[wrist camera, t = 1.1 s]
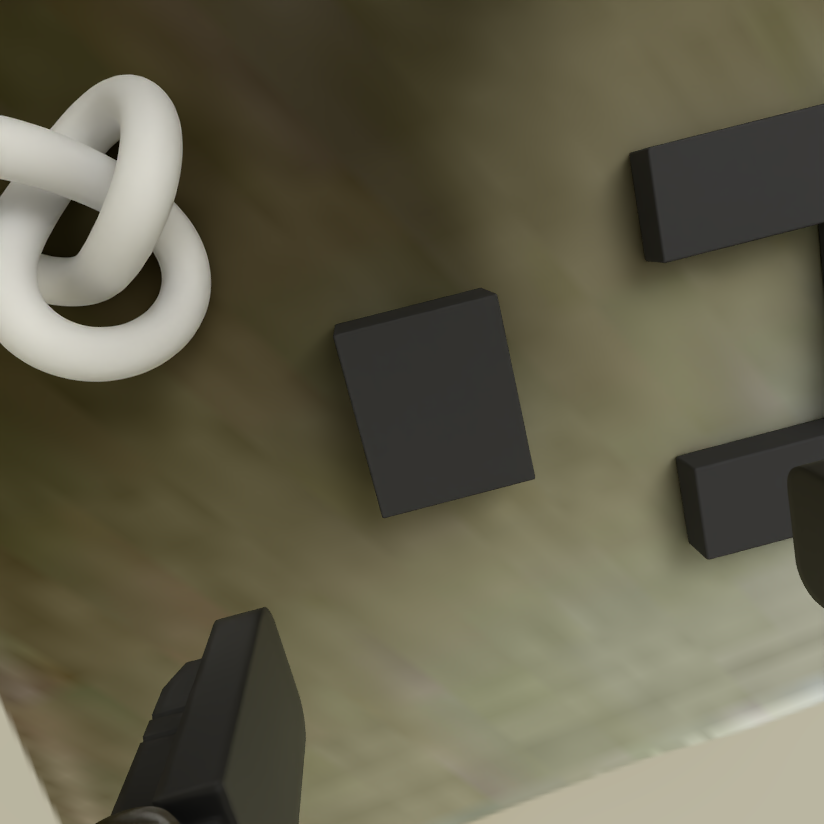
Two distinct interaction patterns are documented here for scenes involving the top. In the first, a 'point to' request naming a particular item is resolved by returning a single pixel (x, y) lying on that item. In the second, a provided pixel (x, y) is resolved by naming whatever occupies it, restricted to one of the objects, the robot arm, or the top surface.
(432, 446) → the pad
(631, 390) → the top surface
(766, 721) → the top surface
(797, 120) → the notched block
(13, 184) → the knot
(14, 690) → the top surface
